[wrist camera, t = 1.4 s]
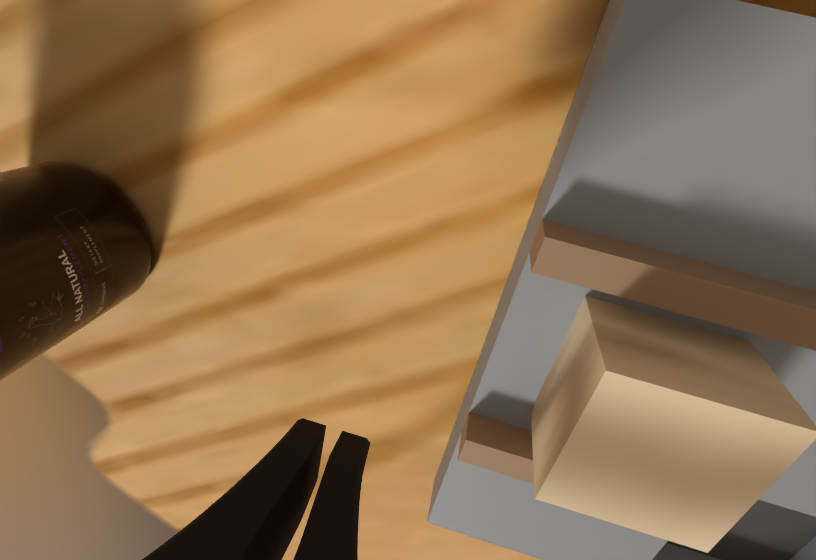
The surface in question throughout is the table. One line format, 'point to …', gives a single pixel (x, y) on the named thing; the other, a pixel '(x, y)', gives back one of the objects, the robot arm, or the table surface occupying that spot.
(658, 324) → the maple block
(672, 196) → the board
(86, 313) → the supplement bottle
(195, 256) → the table surface
